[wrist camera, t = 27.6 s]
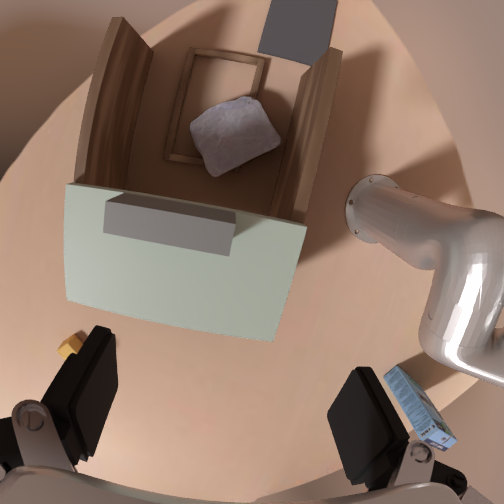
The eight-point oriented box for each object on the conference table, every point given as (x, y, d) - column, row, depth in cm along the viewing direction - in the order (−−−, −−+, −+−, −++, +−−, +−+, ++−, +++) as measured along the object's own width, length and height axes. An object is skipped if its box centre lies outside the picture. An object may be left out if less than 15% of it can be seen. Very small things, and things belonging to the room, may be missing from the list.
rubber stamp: (104, 364, 56) (87, 400, 45) (90, 371, 57) (73, 406, 46) (74, 333, 53) (51, 366, 42) (62, 342, 54) (40, 374, 42)
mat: (336, 1, 34) (337, 0, 34) (322, 69, 39) (323, 69, 39) (276, -17, 33) (277, -18, 32) (257, 52, 38) (257, 51, 37)
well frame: (311, 74, 39) (344, 44, 25) (261, 283, 51) (271, 333, 37) (147, 46, 36) (114, 11, 22) (111, 254, 48) (72, 293, 33)
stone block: (186, 130, 42) (215, 183, 43) (179, 121, 37) (210, 179, 38) (253, 96, 41) (283, 147, 42) (253, 84, 36) (287, 140, 38)
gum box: (382, 376, 62) (420, 443, 41) (397, 363, 61) (439, 428, 40) (410, 398, 68) (442, 453, 46) (423, 387, 67) (458, 440, 45)
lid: (304, 223, 32) (320, 241, 26) (271, 335, 37) (278, 367, 30) (72, 182, 28) (41, 191, 22) (71, 294, 33) (48, 319, 27)
